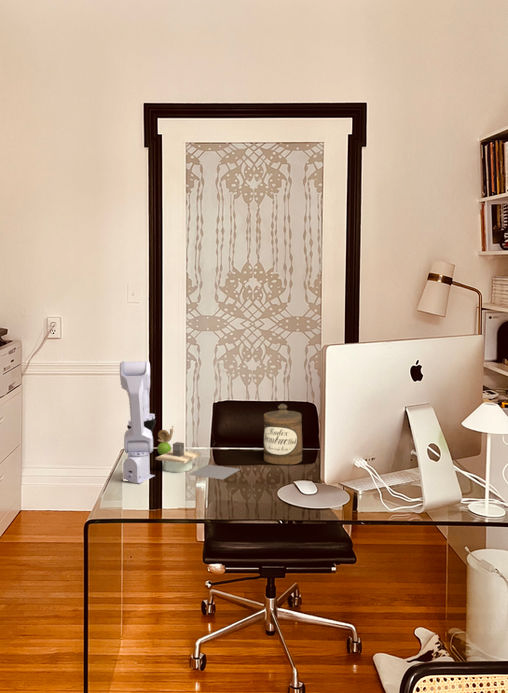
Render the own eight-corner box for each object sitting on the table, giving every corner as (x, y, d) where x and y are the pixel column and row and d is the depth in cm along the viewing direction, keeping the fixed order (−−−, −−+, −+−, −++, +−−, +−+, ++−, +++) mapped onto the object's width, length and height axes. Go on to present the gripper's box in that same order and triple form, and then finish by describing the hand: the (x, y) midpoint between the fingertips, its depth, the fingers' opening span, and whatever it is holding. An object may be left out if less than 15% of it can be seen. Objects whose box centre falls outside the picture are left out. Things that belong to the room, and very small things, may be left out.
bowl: (182, 474, 256) (182, 462, 256) (158, 471, 261) (158, 459, 260) (196, 467, 265) (196, 455, 265) (173, 464, 270) (173, 452, 269)
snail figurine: (172, 457, 280) (172, 427, 278) (156, 457, 280) (156, 427, 278) (174, 453, 285) (174, 424, 284) (158, 453, 285) (158, 424, 284)
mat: (223, 480, 249) (223, 479, 249) (188, 475, 255) (188, 474, 255) (240, 470, 262) (240, 469, 262) (207, 465, 268) (207, 464, 267)
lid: (184, 463, 254) (184, 448, 254) (155, 459, 260) (155, 445, 259) (200, 455, 265) (200, 441, 265) (173, 451, 270) (172, 438, 270)
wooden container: (258, 463, 270) (258, 406, 268) (270, 453, 284) (270, 399, 282) (296, 467, 266) (296, 409, 263) (306, 456, 280) (306, 401, 277)
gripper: (139, 410, 257) (140, 446, 259) (161, 403, 270) (161, 438, 272) (123, 408, 260) (124, 444, 262) (145, 401, 273) (146, 436, 275)
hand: (142, 441), depth 267 cm, fingers open, 7 cm apart
